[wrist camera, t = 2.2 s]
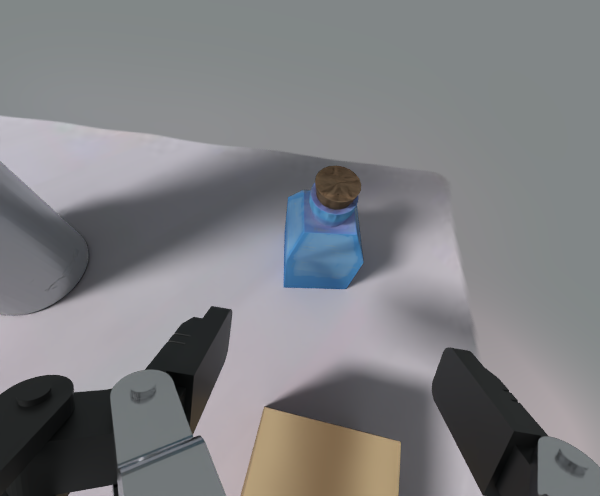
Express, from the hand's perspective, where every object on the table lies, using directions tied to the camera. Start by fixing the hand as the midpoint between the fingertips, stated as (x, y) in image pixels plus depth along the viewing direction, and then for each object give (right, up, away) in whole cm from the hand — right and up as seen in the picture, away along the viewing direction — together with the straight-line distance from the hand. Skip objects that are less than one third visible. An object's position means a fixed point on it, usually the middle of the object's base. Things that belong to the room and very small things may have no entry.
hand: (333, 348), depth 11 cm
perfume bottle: (0, +2, +20) cm, 20 cm away
